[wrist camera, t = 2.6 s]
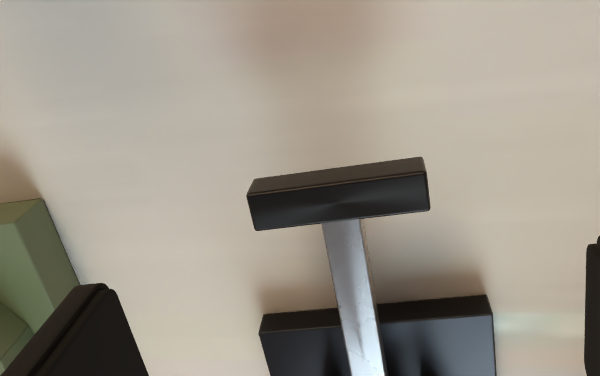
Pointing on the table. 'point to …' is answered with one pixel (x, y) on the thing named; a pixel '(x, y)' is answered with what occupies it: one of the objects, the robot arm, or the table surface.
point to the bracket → (387, 339)
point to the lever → (346, 234)
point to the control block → (29, 274)
